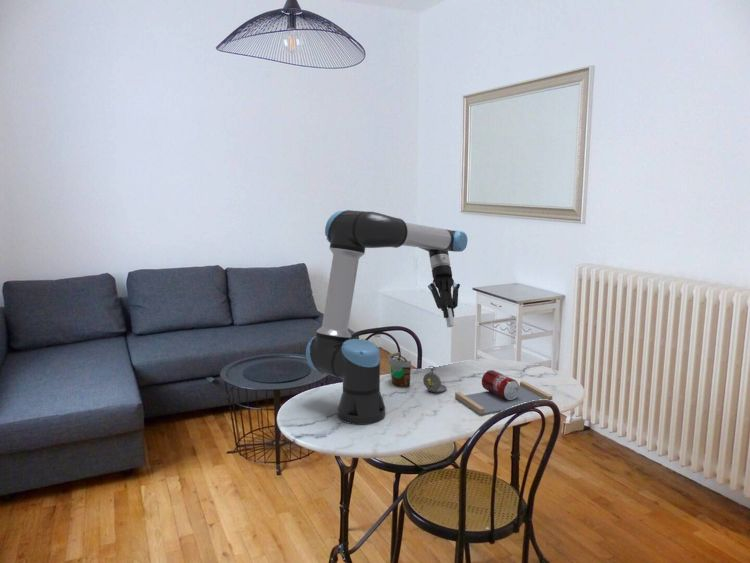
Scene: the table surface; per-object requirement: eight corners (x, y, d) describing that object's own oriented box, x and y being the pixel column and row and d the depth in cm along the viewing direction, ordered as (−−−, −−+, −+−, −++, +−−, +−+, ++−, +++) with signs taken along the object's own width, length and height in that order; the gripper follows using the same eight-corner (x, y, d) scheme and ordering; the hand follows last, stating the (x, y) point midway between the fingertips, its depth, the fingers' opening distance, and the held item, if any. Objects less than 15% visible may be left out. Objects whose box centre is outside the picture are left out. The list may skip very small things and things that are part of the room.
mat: (480, 415, 179) (480, 409, 178) (455, 398, 193) (455, 392, 192) (552, 402, 189) (552, 396, 189) (523, 386, 203) (523, 381, 203)
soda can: (499, 383, 201) (522, 394, 191) (483, 393, 199) (506, 404, 188) (494, 365, 199) (517, 376, 189) (478, 375, 196) (501, 386, 186)
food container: (384, 379, 212) (383, 353, 211) (399, 377, 214) (399, 351, 212) (395, 390, 201) (394, 363, 199) (411, 388, 203) (411, 361, 201)
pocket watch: (445, 386, 204) (445, 360, 202) (447, 395, 196) (448, 367, 194) (422, 386, 204) (422, 360, 203) (423, 395, 196) (424, 367, 194)
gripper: (430, 263, 214) (439, 323, 206) (460, 264, 219) (470, 323, 211) (421, 270, 221) (430, 329, 213) (451, 271, 226) (461, 328, 217)
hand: (450, 326), depth 212 cm, fingers closed
